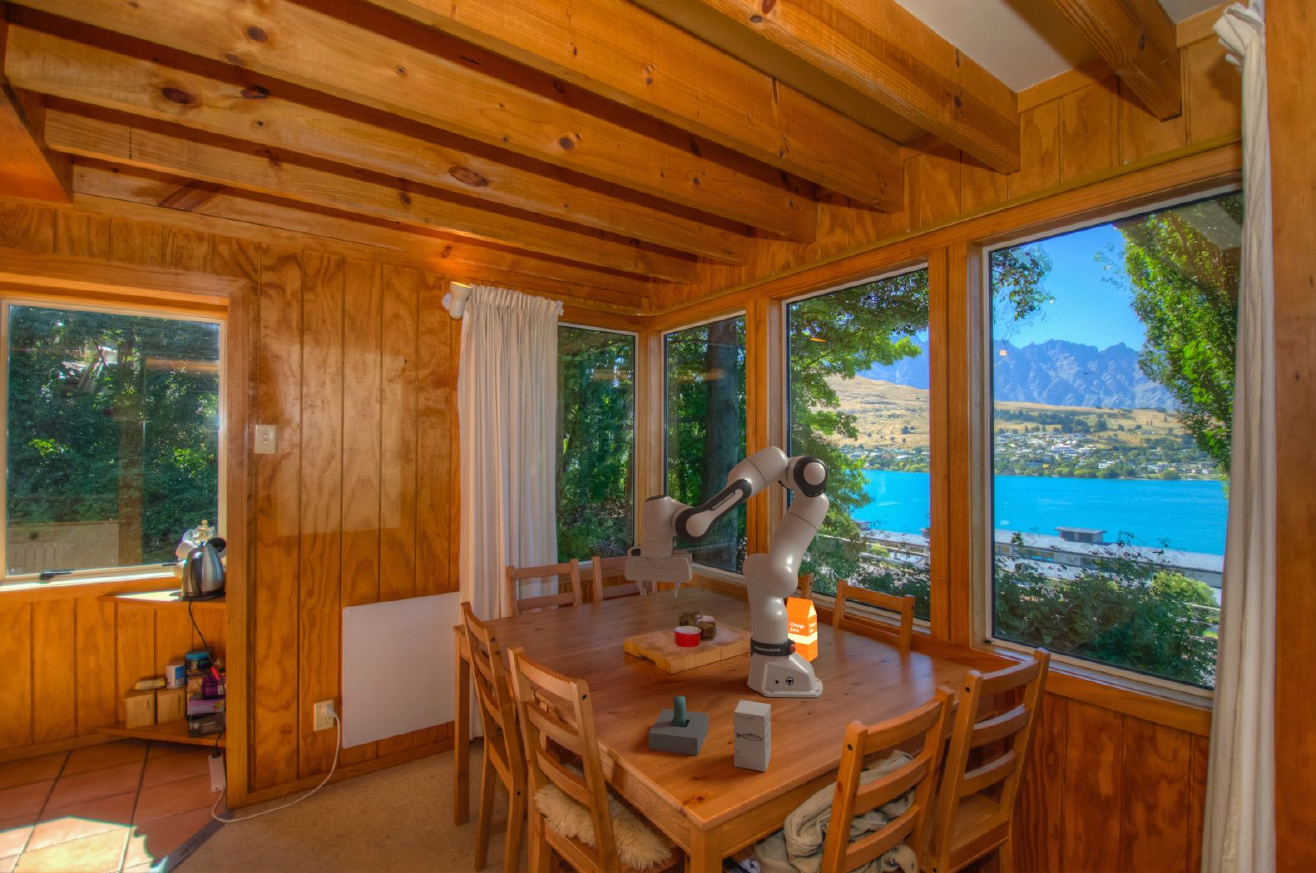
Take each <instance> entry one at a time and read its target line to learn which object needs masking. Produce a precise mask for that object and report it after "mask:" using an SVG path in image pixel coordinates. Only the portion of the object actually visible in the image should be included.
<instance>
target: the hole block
mask: <svg viewBox="0 0 1316 873" xmlns="http://www.w3.org/2000/svg"><path fill="white" fill-rule="evenodd" d="M709 719H710V718H709V713H708V712H701V711H700V712H699V711H691V710H689V711H687V710H686V728H685V727H676V726H674V709H671V708H663V709H662V710H661V712H660V714H659V715H658V717H657V719H656V720H655V721H654V723H653V724H652V727H651V728H650V730H649V731H648V750H651V751H659V752H664V753H665V752H667V753H676V754H684V755H691V756H698V755H699V753H700V751H701V748H702V746H703V743H704V741H705V738H706V737H707V734H708V732H709V729H710V728H709V726H710V725H709V722H710V721H709Z"/></svg>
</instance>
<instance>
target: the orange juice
mask: <svg viewBox="0 0 1316 873" xmlns="http://www.w3.org/2000/svg"><path fill="white" fill-rule="evenodd" d="M786 602H787V603H786V605H785V607H786V610H787V613H788V638H790V639H791V640H792V641H793V639H794V642H795V646H796V651H795V652H797V653H798V654H799V655H800V656H802V657H803V658H804V659H806V660H807V661H808V662H809V663H810V662H811V661H814V659H816V658H818V624H817V622H818V619H817V616H818V614H817V612H816V609H815V606H814V602H813V600H812V599H806V598H805V599H804V598H798V597H792V596H789V597H787V601H786Z"/></svg>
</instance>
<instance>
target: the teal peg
mask: <svg viewBox="0 0 1316 873" xmlns="http://www.w3.org/2000/svg"><path fill="white" fill-rule="evenodd" d="M672 701H673V703H672V704H673V710H674V726H676V727H685V728H686V711H687V709H686V708H687V706H686V697H685V696H682V695H678V696H677V695H676V696H674V697H673V700H672Z"/></svg>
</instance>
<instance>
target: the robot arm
mask: <svg viewBox="0 0 1316 873" xmlns="http://www.w3.org/2000/svg"><path fill="white" fill-rule="evenodd" d="M828 478H829V470H828V467H827V464H826V463H825V462H824V461H823V460H822V459H821V458H819V457H816V456H813V455H797V456H792V457H788V456H787V455H786V453H785V452H784V451H783V450H782V449H780V448H779V447H778V446H775V445H773V446H772V445H770V446H766V447H764V448H761V449H760V450H758V451H756V452H754V453H752V454H751V455H749V456H747V457H746V458H744V459H742V460H741V461H740V462H739V463H737V464H736V465H735V466H734V467H733V468H732V469H731V470H729V472H728V476H727V482H726V483H727V484H726V485H725V487H724V488H723V489H722V490H721V491H719V493H717V494H716V495H715V496H713V497H712V498H710V499H709V500H708V501H706V502H705V503H704V504H702V505H700V506H695V507H694V506H692V505H689V504H686V503H682V502H680V501H679V500H676V499H674V498H672V497H671V496H670V495H668V494H659V495H658V494H656V495H653V496H649V497H648V498H647V499H646V500H645V501H644V503H643V508H642V528H643V536H642V543H640V544H638V545H635V546H632V547H630V548H629V549H627V556H628V557H627V558H626V559H625V564H624V578H625V579H626V580H627V581H635V582H636V587H638V589H639V592H640V594H639V595H640V597H641V596H643V597H645V596H647V588H644V586H643V582H659V583H660V582H662V583H663V582H664V583H674V586H675V588H674V589H671V591H670V597H671V598H677V597H678V590H679V588H680V586H681V584H682V583H686V584H688V583H689V582H691V580H692V579H693V570H692V564H693V555H692V553H691V552H689V551H688V550H682V549H673V548H674V547H673V537H674V536H678V537H679V539H680V540H681V541H683V542H685V543H687V544H699V543H701V542H702V541H704V540H705V539H707V537H708V536H709V534H711V531H712V529H713V528H714V526H715V525H716V524H717V523H718V522H719V521H721V520H722V519H723V518H725V517H726V516H727V515H729V514H730V513H731V512H732V511H733V510H735V509H737V508H738V507H739V506H740V505H742V504H743V503H744V502H746V501H747V500H749V499H751V498H753V497H755V496H756V495H758V494H759V493H761V492H763V491H764V490H765V489H767V488H768V487H770V486H771V485H772V484H774V483H776V482H777V483H778V484H780V486H782V487H783V488H784V489H786V490H788V491H793V500H792V503H791V504H790V506H789V507H788V509H787V510H786V512H785V513H784V514H783V516H782V518H781V520H780V521H779V523H778V525H777V526H776V528H775V529H774V531H773V534H772V541H771V545H770V548H769V551H768V554H767V553H762V552H761V553H759V552H758V553H754V554H750V555H749V556H747V557H746V559H744V561H743V563H742V575H743V577H744V579H745V585H746V591H747V596H748V602H749V607H750V616H751V617H750V620H751V622H750V623H751V625H750V626H751V636H750V637H749V638H750V640H749V652H750V657H751V659H750V669H749V674H748V677H747V678H748V679H747V681H746V684H747V686H748V687H749V688H750V689H751V690H753V691H756V692H758V693H760V694H761V695H763V696H764V697H767V698H768V697H769V698H773V697H774V698H818V697H820V696H821V695H822V694H823V691H824V685H823V682H822V680H821V679H820V678H818V677H817V676H816V673H815V671H814V670H815V669H814V666H812V664H811V663H810V662H808V661H807V660H806V659H804V658H803V657H802V656H800V655H799V654H798V653H797V652H795V651H796V646H795V642H794V639H793V641H792V640H791V639H790V638H788V613H787V610H786V605H785V603H784V602H785V601H784V599H787V598H789V597H792V595H793V594H794V593H795V591H796V590H797V588H798V584H799V578H798V575H799V571H800V567H801V564H802V562H803V558H804V555H805V554H806V552H807V549H808V547H809V546H810V544H811V543H812V541H813V540H814V538H815V536H816V534H817V533H818V532H819V530H820V528H821V526H822V525H823V523H824V520H825V518H826V515H827V513H828V511H829V507H830V501H829V498H828V496H827V495H826V494H825V492H826V490H827V483H828Z"/></svg>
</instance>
